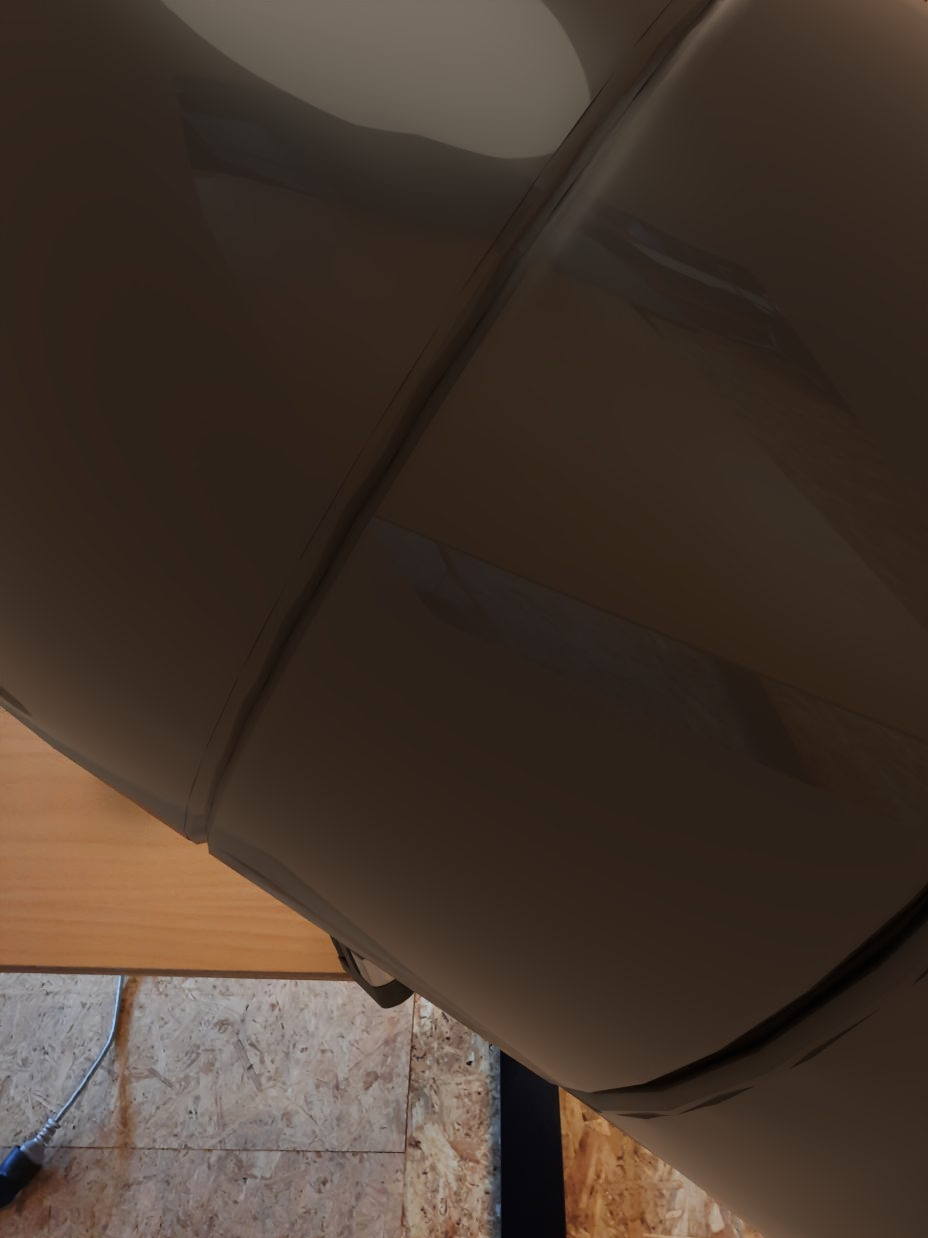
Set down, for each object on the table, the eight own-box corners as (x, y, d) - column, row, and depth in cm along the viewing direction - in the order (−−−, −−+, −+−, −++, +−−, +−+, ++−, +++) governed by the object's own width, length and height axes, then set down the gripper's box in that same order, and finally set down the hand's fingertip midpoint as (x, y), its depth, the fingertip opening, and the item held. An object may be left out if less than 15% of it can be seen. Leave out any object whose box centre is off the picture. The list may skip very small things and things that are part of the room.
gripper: (790, 655, 24) (553, 682, 39) (344, 908, 19) (270, 827, 35) (894, 891, 24) (618, 827, 40) (478, 1200, 20) (346, 992, 35)
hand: (456, 827), depth 37 cm, fingers open, 8 cm apart
